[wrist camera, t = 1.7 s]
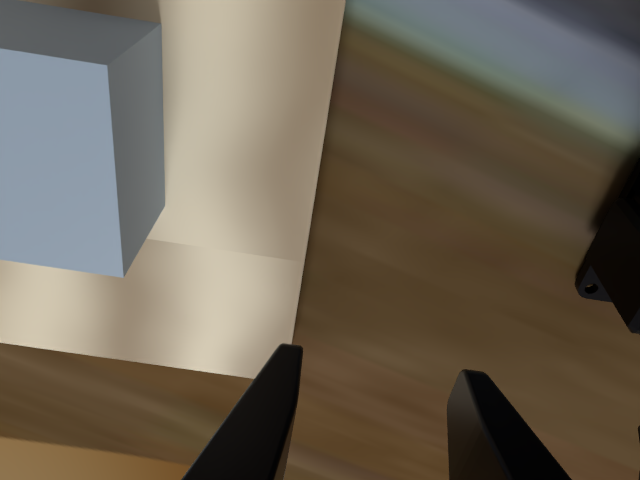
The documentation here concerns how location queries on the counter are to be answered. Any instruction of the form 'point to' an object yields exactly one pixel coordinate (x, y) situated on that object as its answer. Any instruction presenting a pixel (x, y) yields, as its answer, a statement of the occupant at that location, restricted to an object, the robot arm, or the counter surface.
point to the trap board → (206, 195)
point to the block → (79, 137)
